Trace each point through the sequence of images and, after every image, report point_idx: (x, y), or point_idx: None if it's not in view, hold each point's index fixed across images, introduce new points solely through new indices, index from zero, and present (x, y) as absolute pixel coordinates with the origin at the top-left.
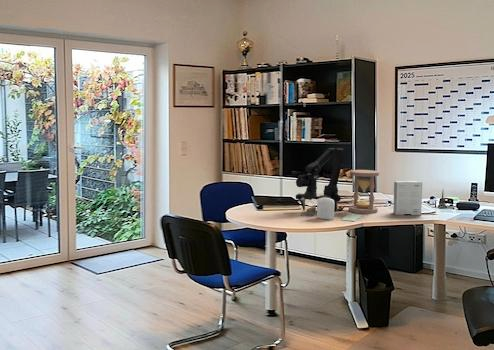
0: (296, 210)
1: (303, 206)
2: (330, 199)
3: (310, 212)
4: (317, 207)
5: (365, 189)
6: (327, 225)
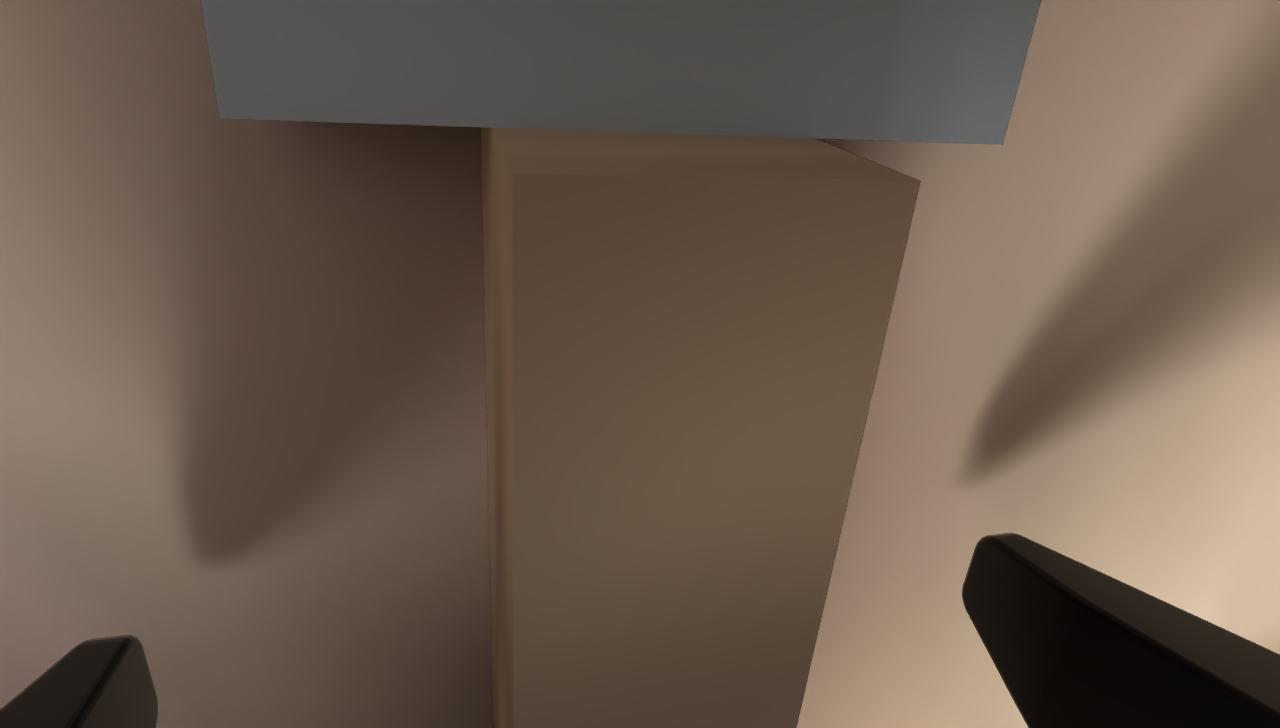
0: None
1: (1228, 678)
2: None
3: (469, 32)
4: None
5: None
6: None
